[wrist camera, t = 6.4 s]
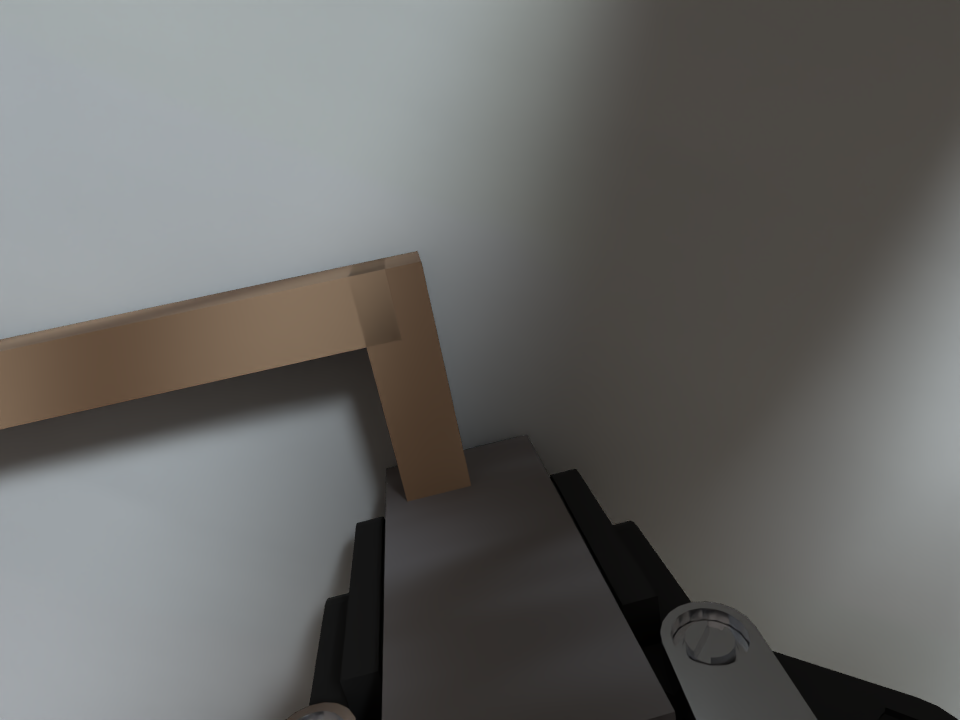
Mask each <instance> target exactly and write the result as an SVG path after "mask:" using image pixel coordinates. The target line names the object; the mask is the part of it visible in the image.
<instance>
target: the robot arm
mask: <svg viewBox="0 0 960 720" xmlns="http://www.w3.org/2000/svg"><path fill="white" fill-rule="evenodd" d="M550 479H551V481H552V483H553V485H554V486H555V488H556V490H557V492H558V494H559V496H560V498H561V500H562V501H563V503H564V505H565V507H566V509H567V511H568V513H569V515H570V516H571V518H572V520H573V522H574V524H575V526H576V528H577V529H578V531H579V533H580V535H581V537H582V539H583V541H584V543H585V544H586V546H587V548H588V550H589V552H590V554H591V556H592V558H593V559H594V561H595V563H596V565H597V567H598V569H599V571H600V572H601V574H602V576H603V578H604V580H605V582H606V584H607V586H608V587H609V589H610V591H611V593H612V595H613V597H614V599H615V601H616V602H617V604H618V606H619V608H620V610H621V612H622V614H623V615H624V617H625V619H626V621H627V623H628V625H629V627H630V629H631V630H632V632H633V634H634V636H635V638H636V640H637V642H638V644H639V645H640V647H641V649H642V651H643V653H644V655H645V657H646V658H647V660H648V662H649V664H650V666H651V668H652V670H653V672H654V673H655V675H656V677H657V679H658V681H659V683H660V685H661V687H662V688H663V690H664V692H665V694H666V696H667V698H668V700H669V701H670V703H671V705H672V707H673V709H674V711H675V716H676V720H958V719H957V718H955V717H954V716H952V715H951V714H949V713H948V712H946V711H944V710H943V709H941V708H940V707H938V706H936V705H934V704H931V703H929V702H927V701H924V700H922V699H920V698H917V697H914V696H911V695H908V694H905V693H902V692H899V691H895V690H892V689H889V688H886V687H883V686H880V685H877V684H874V683H870V682H867V681H864V680H861V679H858V678H855V677H852V676H849V675H846V674H842V673H839V672H836V671H833V670H830V669H827V668H824V667H821V666H818V665H814V664H811V663H808V662H805V661H802V660H799V659H796V658H793V657H790V656H786V655H783V654H780V653H777V652H774V651H772V650H771V649H770V647H769V646H768V644H767V643H766V641H765V640H764V638H763V637H762V635H761V634H760V632H759V630H758V629H757V627H756V626H755V625H754V624H753V623H752V622H751V621H750V620H749V618H748V617H747V616H745V615H744V614H742V613H741V612H739V611H737V610H736V609H734V608H732V607H729V606H726V605H723V604H721V603H714V602H707V601H702V602H691V601H690V600H689V598H688V597H687V596H686V594H685V593H684V591H683V590H682V588H681V587H680V586H679V584H678V583H677V581H676V580H675V579H674V577H673V576H672V574H671V573H670V572H669V570H668V569H667V567H666V566H665V565H664V563H663V562H662V560H661V559H660V558H659V556H658V555H657V553H656V552H655V551H654V549H653V548H652V546H651V545H650V544H649V542H648V541H647V539H646V538H645V537H644V535H643V534H642V532H641V531H640V530H639V528H638V527H637V525H636V524H635V523H634V522H632V521H627V522H624V523H620V524H616V525H612V524H611V522H610V521H609V519H608V517H607V516H606V514H605V513H604V511H603V510H602V508H601V507H600V505H599V503H598V502H597V500H596V499H595V497H594V496H593V494H592V493H591V491H590V489H589V488H588V486H587V485H586V483H585V482H584V480H583V479H582V477H581V475H580V474H579V472H578V471H577V470H576V469H573V470H569V471H565V472H561V473H557V474H553V475H550ZM384 575H385V518H384V517H380V518H376V519H372V520H367V521H363V522H359V523H357V525H356V532H355V542H354V551H353V561H352V571H351V581H350V590H349V593H347V594H344V595H340V596H336V597H332V598H329V599H328V600H327V601H326V604H325V609H324V615H323V622H322V628H321V634H320V641H319V647H318V653H317V660H316V666H315V672H314V679H313V685H312V692H311V698H310V704H309V706H308V707H306V708H304V709H302V710H300V711H297V712H295V713H294V714H293V715H291V716H290V717H289V718H287V719H286V720H382V685H383V630H384Z"/></svg>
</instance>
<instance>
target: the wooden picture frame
mask: <svg viewBox="0 0 960 720" xmlns="http://www.w3.org/2000/svg"><path fill="white" fill-rule="evenodd" d="M361 348H367V351H368V355H369V359H370V363H371V366H372V370H373V374H374V378H375V382H376V385H377V389H378V393H379V397H380V400H381V404H382V408H383V412H384V415H385V419H386V423H387V427H388V431H389V434H390V438H391V442H392V446H393V449H394V453H395V457H396V461H397V465H398V466H395V467H391V468H387V469H386V520H385V575H384V630H383V685H382V720H676V716H675V711H674V709H673V707H672V705H671V703H670V701H669V700H668V698H667V696H666V694H665V692H664V690H663V688H662V687H661V685H660V683H659V681H658V679H657V677H656V675H655V673H654V672H653V670H652V668H651V666H650V664H649V662H648V660H647V658H646V657H645V655H644V653H643V651H642V649H641V647H640V645H639V644H638V642H637V640H636V638H635V636H634V634H633V632H632V630H631V629H630V627H629V625H628V623H627V621H626V619H625V617H624V615H623V614H622V612H621V610H620V608H619V606H618V604H617V602H616V601H615V599H614V597H613V595H612V593H611V591H610V589H609V587H608V586H607V584H606V582H605V580H604V578H603V576H602V574H601V572H600V571H599V569H598V567H597V565H596V563H595V561H594V559H593V558H592V556H591V554H590V552H589V550H588V548H587V546H586V544H585V543H584V541H583V539H582V537H581V535H580V533H579V531H578V529H577V528H576V526H575V524H574V522H573V520H572V518H571V516H570V515H569V513H568V511H567V509H566V507H565V505H564V503H563V501H562V500H561V498H560V496H559V494H558V492H557V490H556V488H555V486H554V485H553V483H552V481H551V479H550V477H549V475H548V473H547V472H546V470H545V468H544V466H543V464H542V462H541V460H540V458H539V457H538V455H537V453H536V451H535V449H534V447H533V445H532V443H531V442H530V440H529V438H528V436H527V435H524V436H520V437H516V438H512V439H507V440H503V441H499V442H495V443H491V444H487V445H482V446H478V447H474V448H470V449H466V450H463V447H462V442H461V438H460V433H459V429H458V424H457V420H456V415H455V411H454V406H453V402H452V397H451V393H450V388H449V384H448V379H447V375H446V370H445V366H444V361H443V357H442V352H441V348H440V343H439V339H438V335H437V330H436V326H435V321H434V317H433V312H432V308H431V303H430V299H429V294H428V290H427V285H426V281H425V276H424V272H423V267H422V263H421V260H420V257H419V254H418V252H417V251H415V252H411V253H406V254H401V255H397V256H392V257H387V258H382V259H378V260H373V261H368V262H364V263H359V264H354V265H349V266H345V267H340V268H335V269H331V270H326V271H321V272H316V273H312V274H307V275H302V276H298V277H293V278H288V279H283V280H279V281H274V282H269V283H265V284H260V285H255V286H251V287H246V288H241V289H236V290H232V291H227V292H222V293H218V294H213V295H208V296H203V297H199V298H194V299H189V300H185V301H180V302H175V303H170V304H166V305H161V306H156V307H152V308H147V309H142V310H138V311H133V312H128V313H123V314H119V315H114V316H109V317H105V318H100V319H95V320H90V321H86V322H81V323H76V324H72V325H67V326H62V327H57V328H53V329H48V330H43V331H39V332H34V333H29V334H25V335H20V336H15V337H10V338H6V339H1V340H0V429H4V428H9V427H13V426H18V425H22V424H27V423H31V422H36V421H40V420H45V419H49V418H53V417H58V416H62V415H67V414H71V413H76V412H80V411H85V410H89V409H94V408H98V407H103V406H107V405H111V404H116V403H120V402H125V401H129V400H134V399H138V398H143V397H147V396H152V395H156V394H161V393H165V392H169V391H174V390H178V389H183V388H187V387H192V386H196V385H201V384H205V383H210V382H214V381H219V380H223V379H228V378H232V377H236V376H241V375H245V374H250V373H254V372H259V371H263V370H268V369H272V368H277V367H281V366H286V365H290V364H294V363H299V362H303V361H308V360H312V359H317V358H321V357H326V356H330V355H335V354H339V353H344V352H348V351H352V350H357V349H361Z"/></svg>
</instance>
